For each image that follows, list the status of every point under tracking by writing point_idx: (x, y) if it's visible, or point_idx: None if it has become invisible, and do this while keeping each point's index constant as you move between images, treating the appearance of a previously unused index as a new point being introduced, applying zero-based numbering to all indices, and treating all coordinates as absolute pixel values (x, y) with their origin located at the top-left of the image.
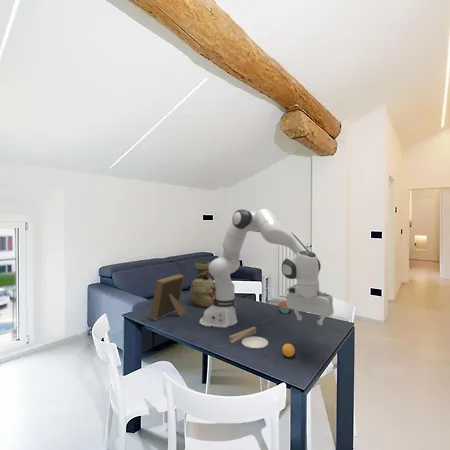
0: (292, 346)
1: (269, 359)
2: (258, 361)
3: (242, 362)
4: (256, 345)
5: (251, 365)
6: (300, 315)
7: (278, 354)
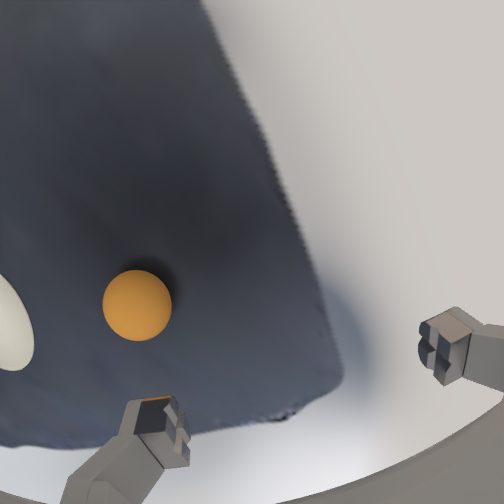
0: (151, 306)
1: (133, 375)
2: None
3: None
4: (15, 338)
5: None
6: (152, 440)
7: None
